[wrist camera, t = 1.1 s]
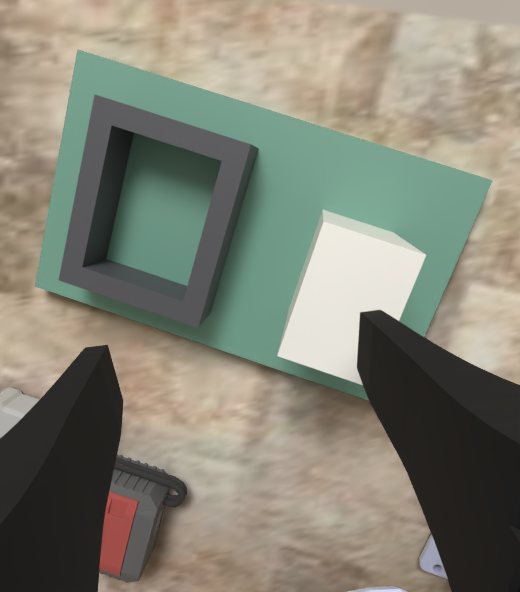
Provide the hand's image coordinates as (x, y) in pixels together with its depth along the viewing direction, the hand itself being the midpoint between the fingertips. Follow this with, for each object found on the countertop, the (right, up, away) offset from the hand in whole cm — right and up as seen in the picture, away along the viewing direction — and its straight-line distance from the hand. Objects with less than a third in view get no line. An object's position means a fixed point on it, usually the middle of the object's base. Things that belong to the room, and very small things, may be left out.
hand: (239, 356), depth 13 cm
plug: (+4, +3, +9) cm, 11 cm away
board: (0, +5, +10) cm, 12 cm away
